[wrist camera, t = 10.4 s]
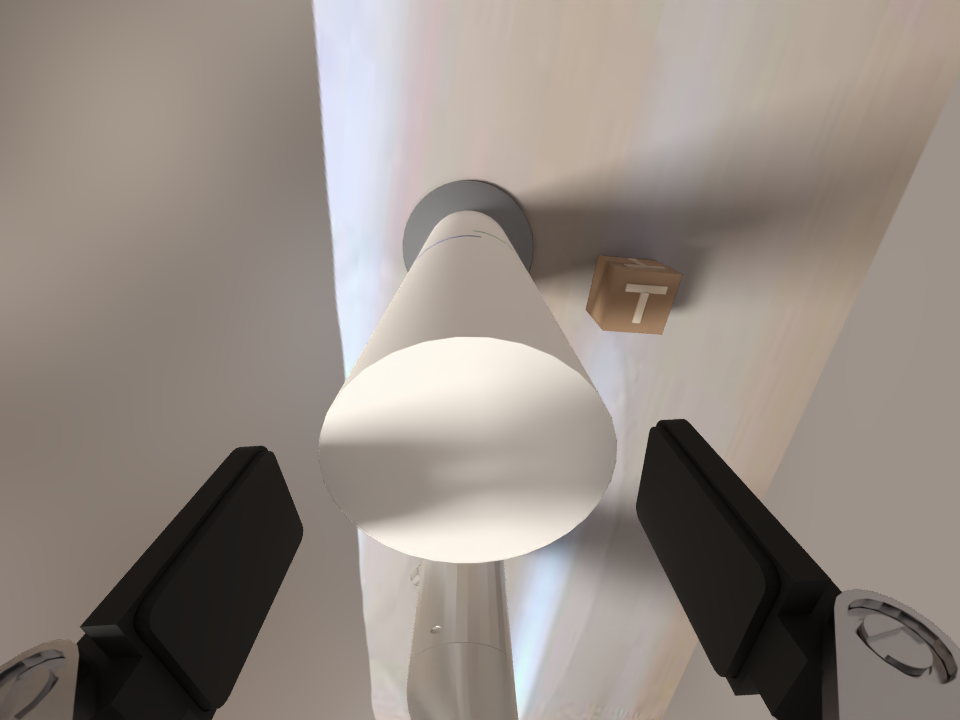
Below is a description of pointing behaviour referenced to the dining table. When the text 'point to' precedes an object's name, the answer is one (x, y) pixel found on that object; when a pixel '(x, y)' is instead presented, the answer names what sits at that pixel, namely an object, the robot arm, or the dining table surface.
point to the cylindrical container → (467, 411)
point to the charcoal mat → (469, 199)
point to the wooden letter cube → (632, 294)
